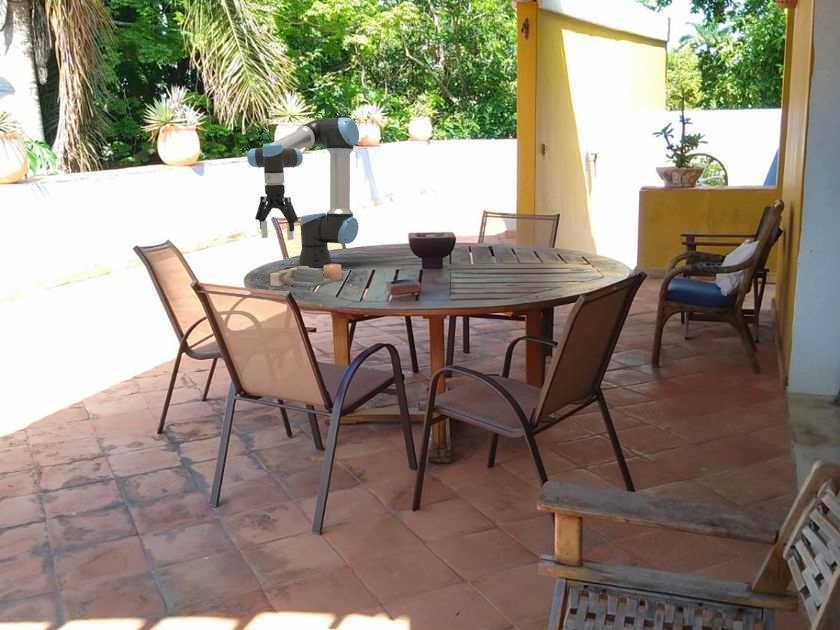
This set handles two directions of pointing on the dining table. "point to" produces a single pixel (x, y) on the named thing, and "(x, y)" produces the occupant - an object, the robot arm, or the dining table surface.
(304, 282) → the fulcrum
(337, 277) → the orange-brown rounded piece
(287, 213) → the robot arm
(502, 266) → the dining table surface
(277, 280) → the bar
